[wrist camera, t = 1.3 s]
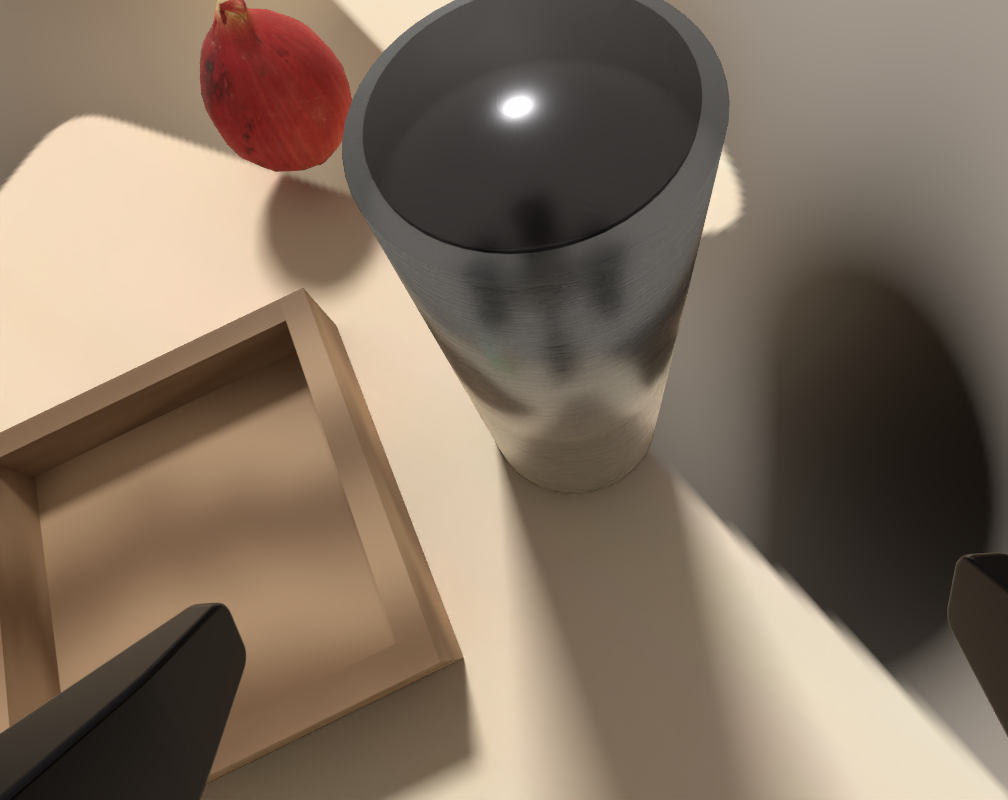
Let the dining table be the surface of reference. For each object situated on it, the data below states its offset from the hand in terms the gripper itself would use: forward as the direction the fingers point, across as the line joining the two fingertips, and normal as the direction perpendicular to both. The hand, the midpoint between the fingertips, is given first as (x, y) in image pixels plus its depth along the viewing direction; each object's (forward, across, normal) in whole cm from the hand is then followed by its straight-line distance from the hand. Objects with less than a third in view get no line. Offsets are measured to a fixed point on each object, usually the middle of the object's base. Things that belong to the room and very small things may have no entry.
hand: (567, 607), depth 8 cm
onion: (+24, +11, -6) cm, 27 cm away
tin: (+14, 0, +4) cm, 15 cm away
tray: (+11, +13, +7) cm, 19 cm away
